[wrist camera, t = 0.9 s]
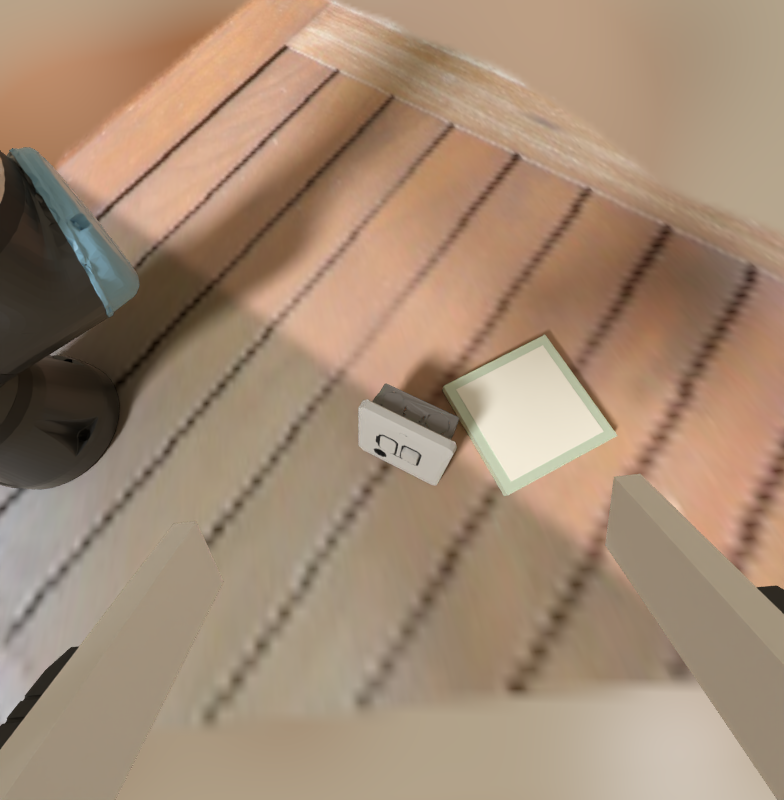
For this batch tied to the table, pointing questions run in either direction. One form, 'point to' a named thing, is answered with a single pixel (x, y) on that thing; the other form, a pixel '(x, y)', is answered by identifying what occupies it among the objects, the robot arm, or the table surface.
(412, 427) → the electrical switch
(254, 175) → the table surface
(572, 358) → the table surface
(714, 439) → the table surface
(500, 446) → the board
